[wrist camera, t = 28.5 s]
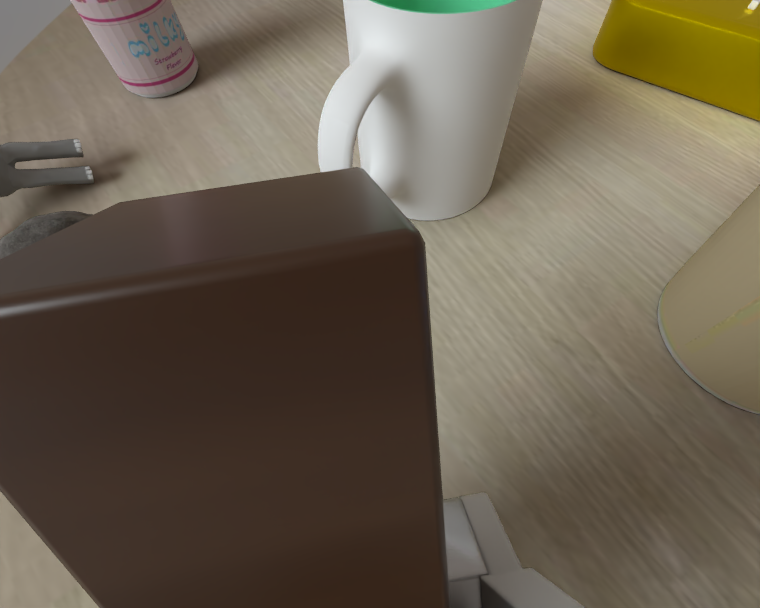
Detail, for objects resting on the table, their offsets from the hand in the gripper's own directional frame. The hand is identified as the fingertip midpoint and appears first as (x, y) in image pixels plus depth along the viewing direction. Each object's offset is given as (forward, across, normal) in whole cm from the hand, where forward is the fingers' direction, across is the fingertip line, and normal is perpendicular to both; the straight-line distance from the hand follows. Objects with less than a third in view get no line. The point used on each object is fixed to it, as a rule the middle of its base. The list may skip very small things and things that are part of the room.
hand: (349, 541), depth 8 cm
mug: (+18, -5, -6) cm, 20 cm away
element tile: (+25, -30, -13) cm, 41 cm away
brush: (-1, 0, +7) cm, 7 cm away
